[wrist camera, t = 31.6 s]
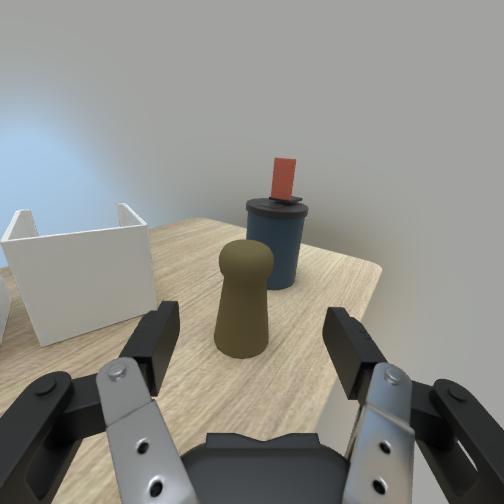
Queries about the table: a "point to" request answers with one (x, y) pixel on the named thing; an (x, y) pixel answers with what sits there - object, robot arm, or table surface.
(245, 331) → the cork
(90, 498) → the table surface
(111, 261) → the storage container
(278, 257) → the travel cup
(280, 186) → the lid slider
